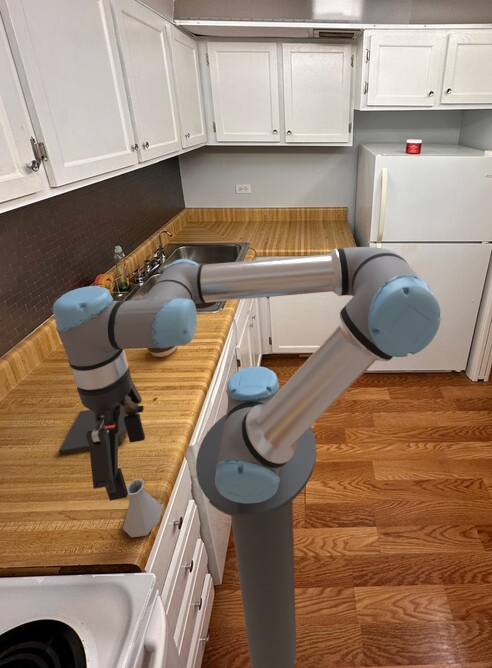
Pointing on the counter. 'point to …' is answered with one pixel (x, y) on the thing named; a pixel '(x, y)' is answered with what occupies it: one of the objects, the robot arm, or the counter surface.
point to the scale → (78, 433)
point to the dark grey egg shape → (161, 351)
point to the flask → (141, 510)
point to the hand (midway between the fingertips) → (129, 466)
